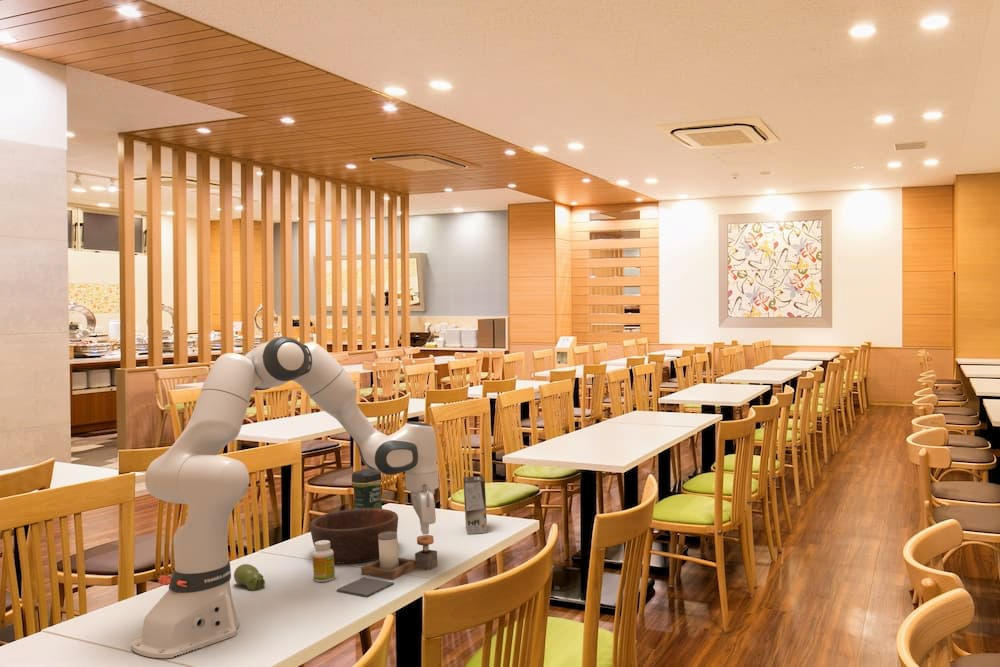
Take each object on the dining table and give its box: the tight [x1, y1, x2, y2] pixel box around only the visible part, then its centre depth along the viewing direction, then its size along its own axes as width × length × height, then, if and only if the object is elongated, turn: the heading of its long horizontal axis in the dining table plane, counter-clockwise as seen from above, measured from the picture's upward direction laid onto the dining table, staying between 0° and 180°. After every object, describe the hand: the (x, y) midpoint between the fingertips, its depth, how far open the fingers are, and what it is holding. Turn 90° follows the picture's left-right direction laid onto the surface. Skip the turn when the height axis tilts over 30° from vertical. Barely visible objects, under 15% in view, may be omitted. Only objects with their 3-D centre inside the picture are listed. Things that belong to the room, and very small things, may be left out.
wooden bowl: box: [309, 508, 399, 564], centre depth 233 cm, size 25×25×10 cm
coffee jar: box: [351, 467, 383, 509], centre depth 263 cm, size 10×8×19 cm
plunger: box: [416, 534, 435, 554], centre depth 217 cm, size 4×4×5 cm
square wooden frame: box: [360, 549, 439, 581], centre depth 215 cm, size 14×14×4 cm
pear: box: [233, 563, 266, 592], centre depth 208 cm, size 6×5×10 cm
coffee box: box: [462, 475, 488, 535], centre depth 252 cm, size 9×6×16 cm
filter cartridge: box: [378, 531, 400, 570], centre depth 215 cm, size 5×5×10 cm
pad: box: [336, 577, 395, 598], centre depth 202 cm, size 10×10×1 cm
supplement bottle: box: [312, 540, 336, 583], centre depth 211 cm, size 5×5×10 cm
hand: (425, 532), depth 217 cm, fingers closed
